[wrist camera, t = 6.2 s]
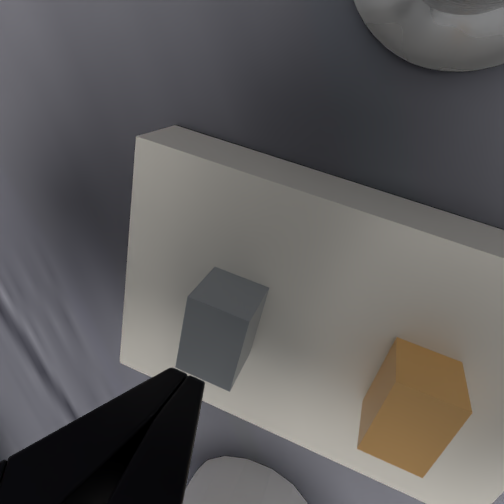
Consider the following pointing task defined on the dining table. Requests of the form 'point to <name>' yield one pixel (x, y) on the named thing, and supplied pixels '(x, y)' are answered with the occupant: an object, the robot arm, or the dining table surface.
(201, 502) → the grey cylinder
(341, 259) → the panel
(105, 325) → the dining table surface
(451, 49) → the post
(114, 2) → the dining table surface
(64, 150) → the dining table surface
